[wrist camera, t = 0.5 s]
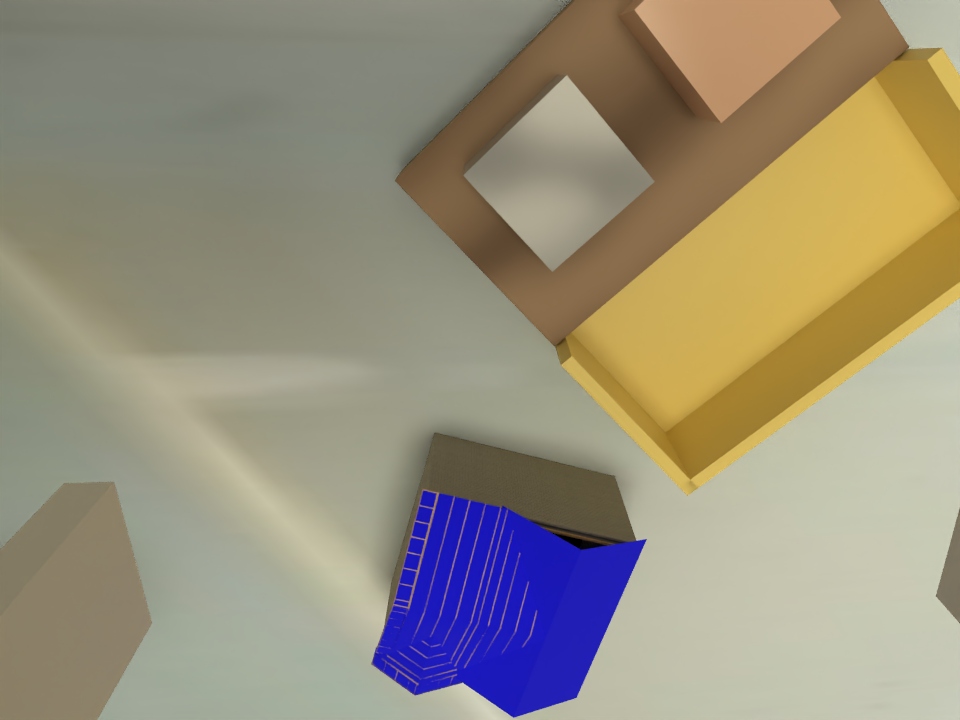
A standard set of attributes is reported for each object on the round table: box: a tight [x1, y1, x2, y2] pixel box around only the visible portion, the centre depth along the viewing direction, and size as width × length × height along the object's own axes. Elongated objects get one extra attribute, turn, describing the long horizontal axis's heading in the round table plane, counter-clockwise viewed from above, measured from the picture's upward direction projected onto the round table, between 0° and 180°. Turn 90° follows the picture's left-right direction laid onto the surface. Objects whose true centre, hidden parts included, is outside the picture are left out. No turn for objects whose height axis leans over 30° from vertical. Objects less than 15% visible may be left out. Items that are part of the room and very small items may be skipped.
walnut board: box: [395, 0, 909, 346], centre depth 30 cm, size 10×18×3 cm, turn 133°
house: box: [372, 433, 647, 717], centre depth 36 cm, size 10×11×8 cm
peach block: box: [618, 0, 841, 123], centre depth 26 cm, size 5×5×3 cm
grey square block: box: [463, 74, 655, 272], centre depth 28 cm, size 5×5×3 cm
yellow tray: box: [556, 48, 960, 496], centre depth 31 cm, size 9×18×5 cm, turn 133°
